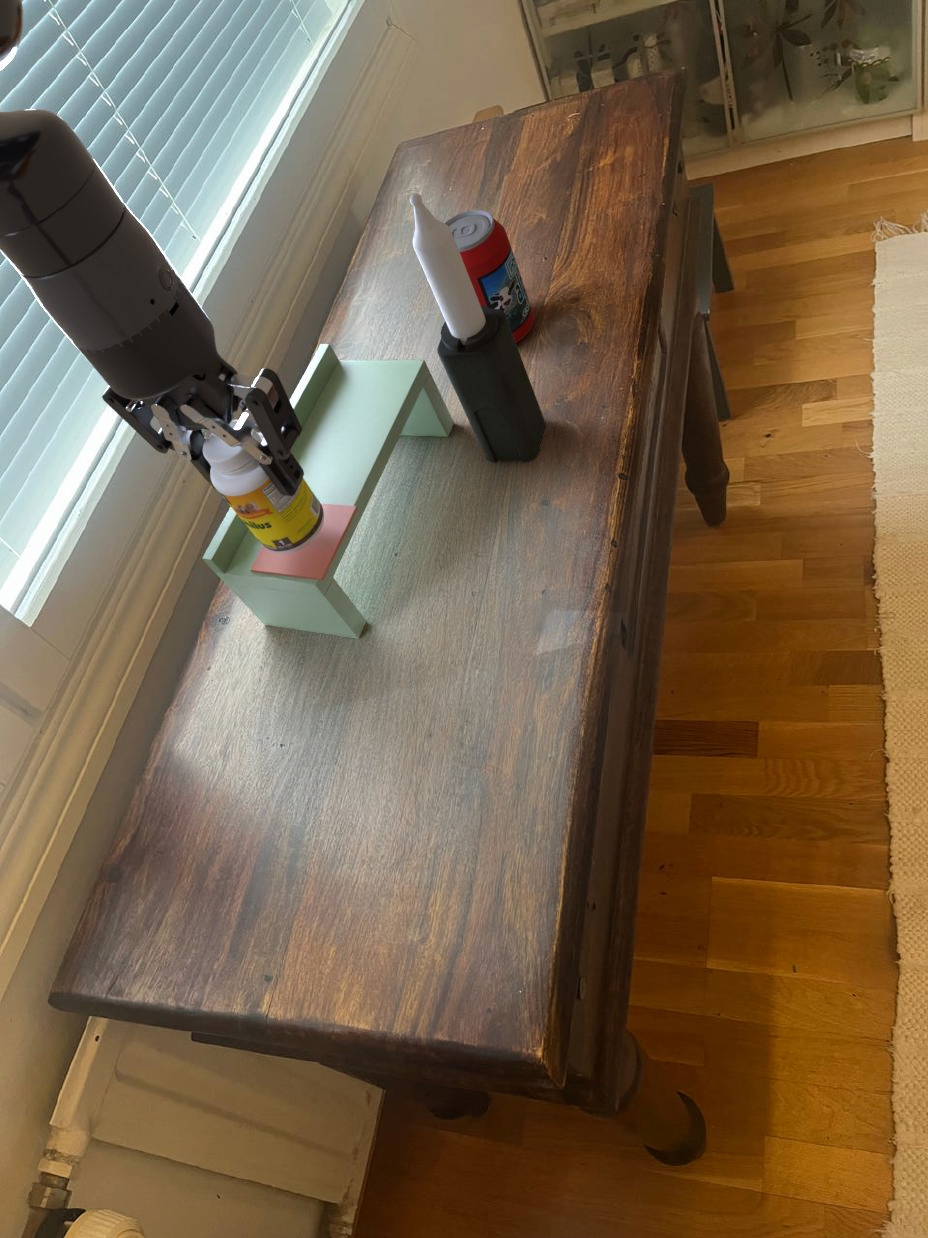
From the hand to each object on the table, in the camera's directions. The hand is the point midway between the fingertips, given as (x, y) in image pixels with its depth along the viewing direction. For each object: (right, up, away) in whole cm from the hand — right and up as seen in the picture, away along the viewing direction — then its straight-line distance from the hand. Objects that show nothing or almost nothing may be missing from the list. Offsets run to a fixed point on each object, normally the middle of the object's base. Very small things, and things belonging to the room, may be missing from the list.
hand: (260, 483), depth 68 cm
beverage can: (+19, +18, +24) cm, 36 cm away
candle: (+20, +6, +15) cm, 26 cm away
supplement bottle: (+2, -3, +4) cm, 6 cm away
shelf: (+6, -1, +16) cm, 17 cm away
